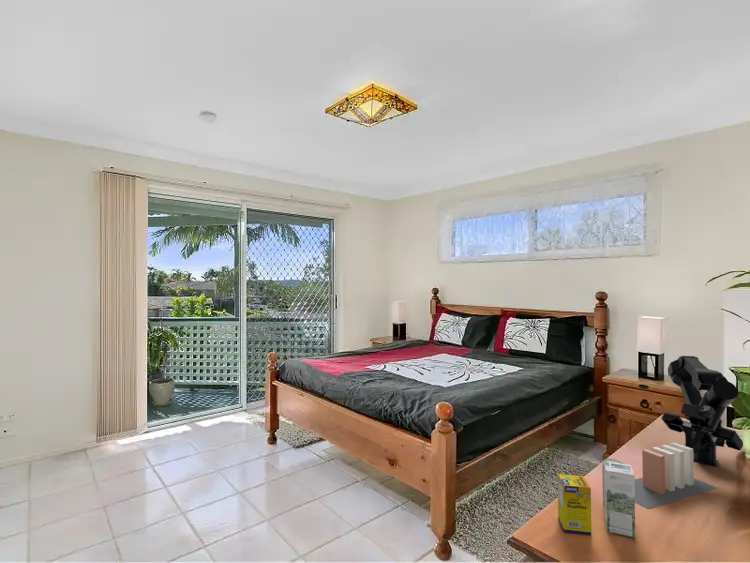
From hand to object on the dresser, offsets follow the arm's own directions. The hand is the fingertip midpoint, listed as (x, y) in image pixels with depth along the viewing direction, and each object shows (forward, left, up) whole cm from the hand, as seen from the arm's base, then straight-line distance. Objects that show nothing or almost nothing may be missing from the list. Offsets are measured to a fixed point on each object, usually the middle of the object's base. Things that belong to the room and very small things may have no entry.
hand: (687, 454), depth 117 cm
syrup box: (+38, -9, -8) cm, 40 cm away
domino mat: (+10, -5, -8) cm, 14 cm away
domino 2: (+5, -3, -7) cm, 10 cm away
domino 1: (+9, -4, -7) cm, 12 cm away
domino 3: (+2, -1, -7) cm, 8 cm away
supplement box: (+44, -17, -8) cm, 48 cm away
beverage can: (+30, -12, -8) cm, 33 cm away
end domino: (+13, -6, -7) cm, 16 cm away
